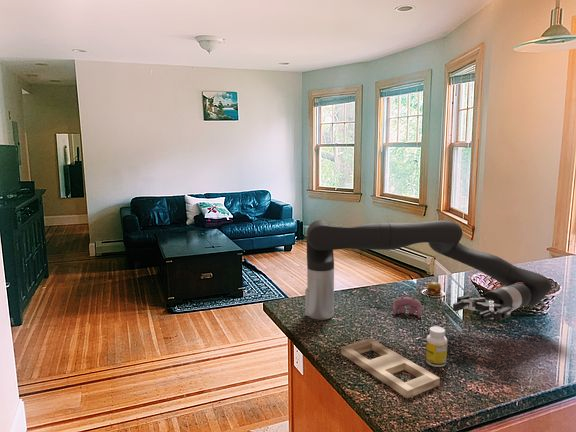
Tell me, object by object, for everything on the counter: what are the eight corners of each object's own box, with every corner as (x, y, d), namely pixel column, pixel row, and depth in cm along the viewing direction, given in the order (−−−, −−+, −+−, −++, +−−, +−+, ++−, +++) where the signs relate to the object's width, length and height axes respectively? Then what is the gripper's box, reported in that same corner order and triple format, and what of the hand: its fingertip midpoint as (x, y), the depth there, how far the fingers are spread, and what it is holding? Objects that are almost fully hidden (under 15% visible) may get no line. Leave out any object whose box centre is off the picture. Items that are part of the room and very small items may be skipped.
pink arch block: (421, 319, 153) (422, 299, 155) (421, 318, 149) (422, 297, 151) (392, 315, 156) (394, 296, 158) (391, 314, 152) (393, 294, 154)
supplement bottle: (422, 358, 123) (423, 325, 121) (441, 357, 123) (442, 324, 122) (430, 368, 117) (431, 334, 116) (449, 367, 118) (451, 333, 116)
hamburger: (415, 289, 180) (415, 276, 179) (445, 290, 178) (446, 277, 177) (420, 300, 168) (420, 286, 167) (452, 301, 167) (453, 287, 166)
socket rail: (340, 353, 126) (340, 347, 126) (370, 344, 131) (370, 338, 131) (407, 398, 104) (407, 390, 104) (439, 385, 109) (439, 377, 109)
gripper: (481, 282, 137) (446, 292, 129) (525, 295, 125) (489, 307, 117) (480, 305, 138) (445, 316, 130) (524, 320, 126) (488, 334, 118)
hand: (466, 312), depth 124 cm, fingers open, 8 cm apart
